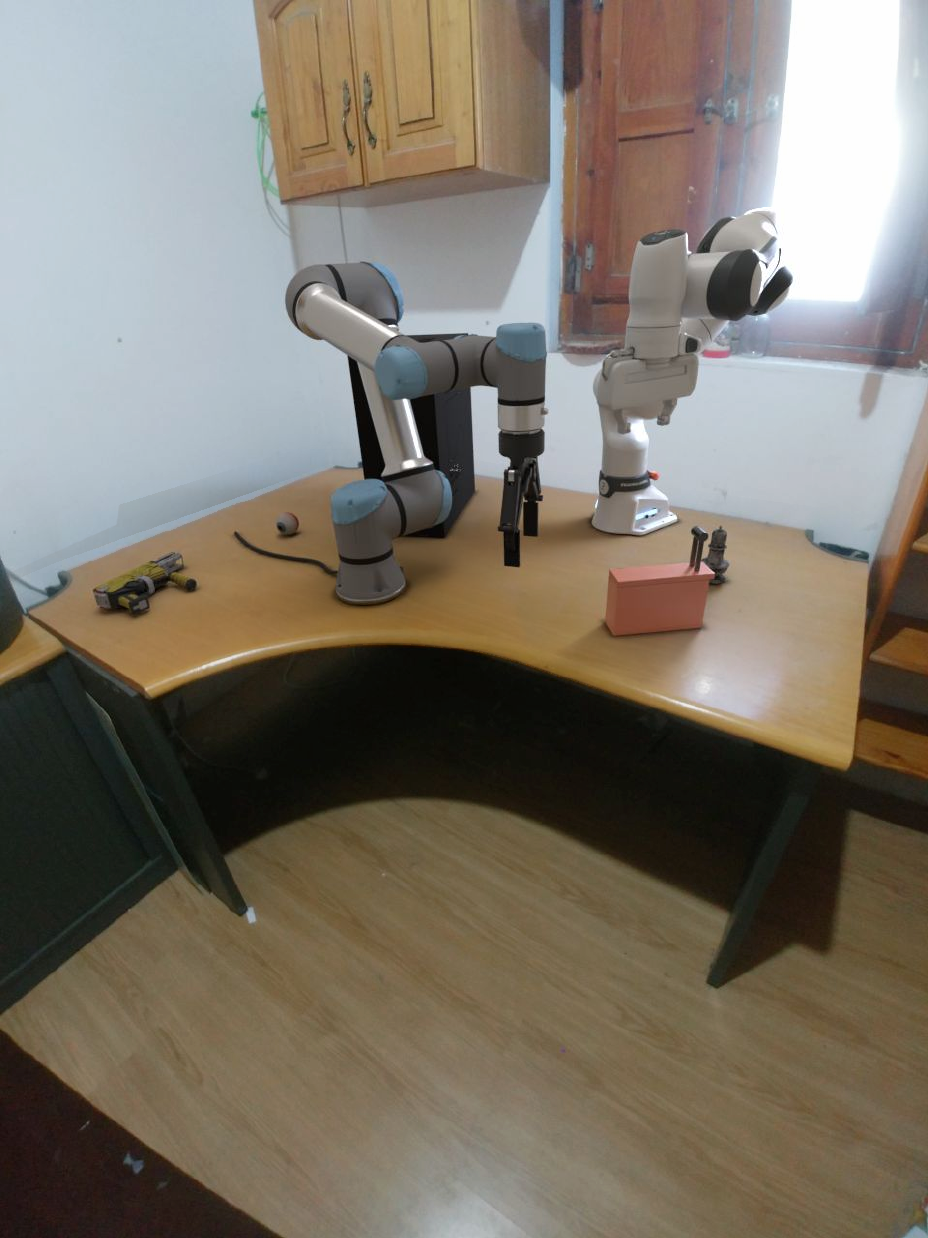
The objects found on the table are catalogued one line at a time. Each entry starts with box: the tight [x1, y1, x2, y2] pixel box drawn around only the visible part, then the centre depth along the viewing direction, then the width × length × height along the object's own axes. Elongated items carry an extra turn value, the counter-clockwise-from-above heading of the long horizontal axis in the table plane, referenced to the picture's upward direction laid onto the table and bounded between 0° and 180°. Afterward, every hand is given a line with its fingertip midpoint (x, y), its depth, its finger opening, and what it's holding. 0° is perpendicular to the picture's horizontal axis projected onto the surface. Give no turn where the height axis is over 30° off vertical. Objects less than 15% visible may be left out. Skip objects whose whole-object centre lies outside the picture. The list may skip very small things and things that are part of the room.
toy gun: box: [92, 551, 198, 616], centre depth 137 cm, size 5×24×15 cm
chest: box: [604, 575, 710, 637], centre depth 112 cm, size 17×5×10 cm, turn 95°
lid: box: [608, 525, 715, 587], centre depth 108 cm, size 18×5×9 cm, turn 95°
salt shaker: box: [701, 525, 730, 585], centre depth 127 cm, size 6×6×12 cm
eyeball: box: [275, 511, 300, 536], centre depth 163 cm, size 6×6×6 cm
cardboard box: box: [346, 332, 476, 538], centre depth 164 cm, size 38×20×45 cm, turn 167°
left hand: (521, 550), depth 108 cm, fingers open, 13 cm apart
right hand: (643, 428), depth 108 cm, fingers open, 8 cm apart
